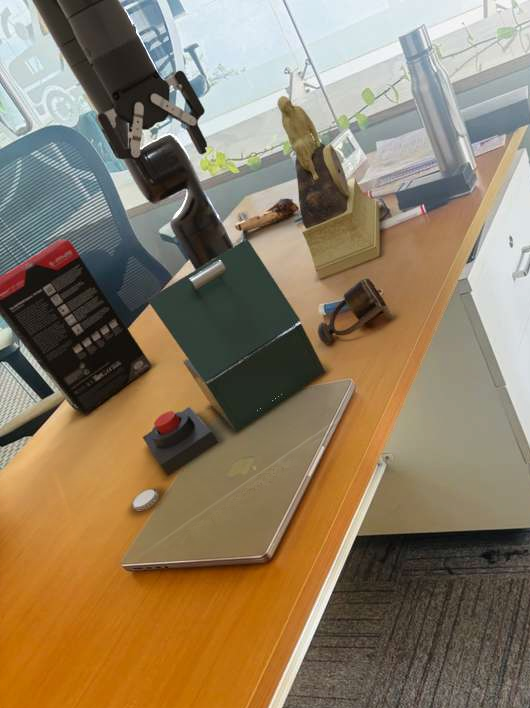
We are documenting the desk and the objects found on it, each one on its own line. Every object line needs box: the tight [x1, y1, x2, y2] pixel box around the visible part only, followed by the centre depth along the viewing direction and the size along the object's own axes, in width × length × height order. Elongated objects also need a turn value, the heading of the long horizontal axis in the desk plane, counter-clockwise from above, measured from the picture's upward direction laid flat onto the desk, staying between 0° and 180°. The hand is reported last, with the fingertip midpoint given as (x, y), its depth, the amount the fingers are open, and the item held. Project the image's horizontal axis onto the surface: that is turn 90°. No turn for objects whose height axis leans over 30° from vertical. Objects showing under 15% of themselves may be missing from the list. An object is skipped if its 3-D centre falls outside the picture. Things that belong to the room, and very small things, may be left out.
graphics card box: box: [0, 238, 152, 415], centre depth 128 cm, size 17×7×27 cm, turn 135°
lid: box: [147, 238, 301, 382], centre depth 97 cm, size 14×17×5 cm
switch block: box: [142, 406, 219, 476], centre depth 107 cm, size 12×9×4 cm
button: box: [153, 410, 181, 434], centre depth 105 cm, size 4×4×2 cm
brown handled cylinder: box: [317, 277, 392, 345], centre depth 113 cm, size 7×13×10 cm
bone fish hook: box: [234, 198, 300, 232], centre depth 180 cm, size 9×5×18 cm
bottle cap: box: [131, 488, 160, 512], centre depth 99 cm, size 4×4×1 cm
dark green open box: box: [182, 321, 326, 432], centre depth 108 cm, size 13×17×9 cm
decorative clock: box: [276, 95, 381, 280], centre depth 137 cm, size 28×13×30 cm, turn 179°
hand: (178, 167), depth 101 cm, fingers open, 8 cm apart
